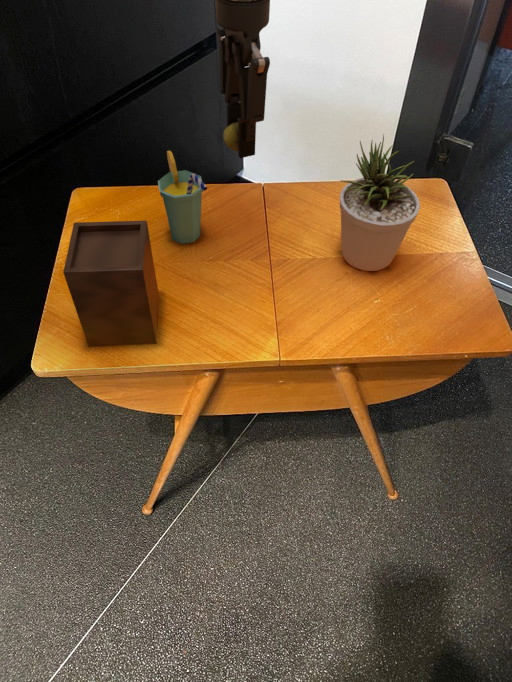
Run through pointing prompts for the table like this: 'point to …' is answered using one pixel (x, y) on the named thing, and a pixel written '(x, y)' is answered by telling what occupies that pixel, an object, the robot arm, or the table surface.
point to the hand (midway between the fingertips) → (240, 148)
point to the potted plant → (375, 212)
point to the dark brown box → (113, 282)
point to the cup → (182, 202)
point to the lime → (232, 136)
